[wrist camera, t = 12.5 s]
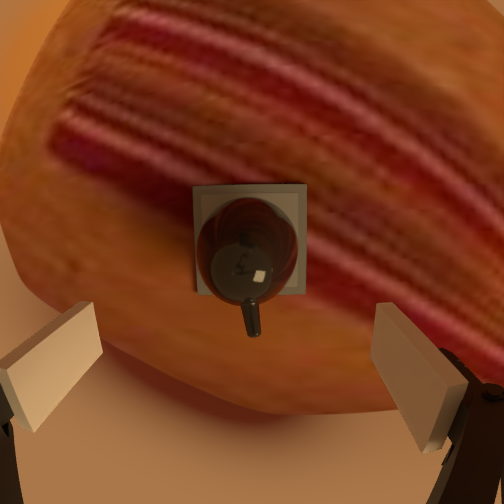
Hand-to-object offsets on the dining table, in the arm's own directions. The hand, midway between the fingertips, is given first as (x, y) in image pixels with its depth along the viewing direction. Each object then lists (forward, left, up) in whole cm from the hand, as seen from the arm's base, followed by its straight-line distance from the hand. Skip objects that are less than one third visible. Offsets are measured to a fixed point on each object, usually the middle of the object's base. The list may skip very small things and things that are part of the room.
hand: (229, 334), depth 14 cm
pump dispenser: (0, 0, -24) cm, 24 cm away
